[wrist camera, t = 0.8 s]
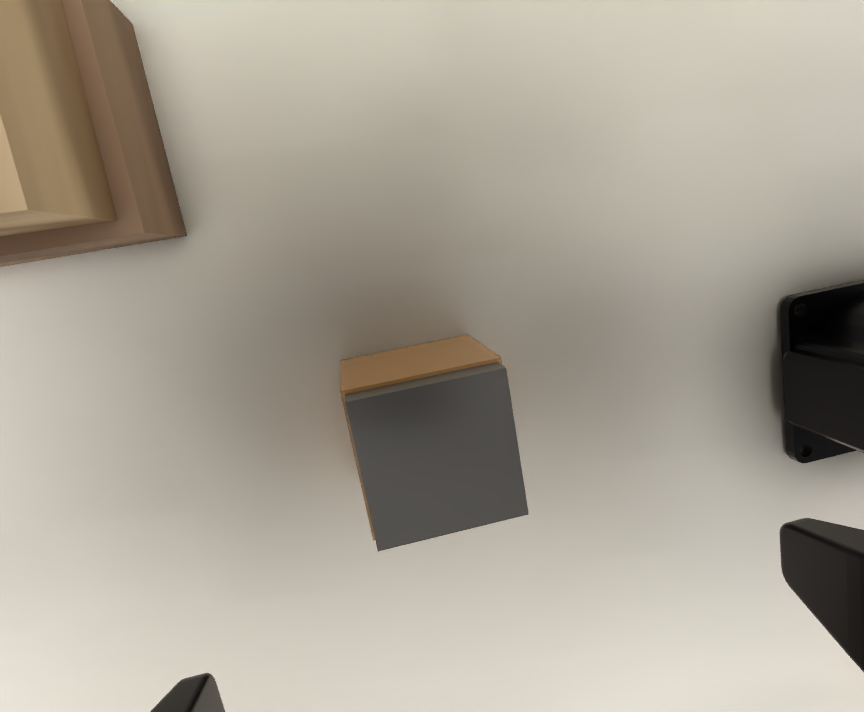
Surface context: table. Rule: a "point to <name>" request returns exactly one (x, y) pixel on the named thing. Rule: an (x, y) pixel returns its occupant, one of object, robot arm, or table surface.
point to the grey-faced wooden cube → (433, 439)
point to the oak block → (45, 126)
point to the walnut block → (112, 144)
